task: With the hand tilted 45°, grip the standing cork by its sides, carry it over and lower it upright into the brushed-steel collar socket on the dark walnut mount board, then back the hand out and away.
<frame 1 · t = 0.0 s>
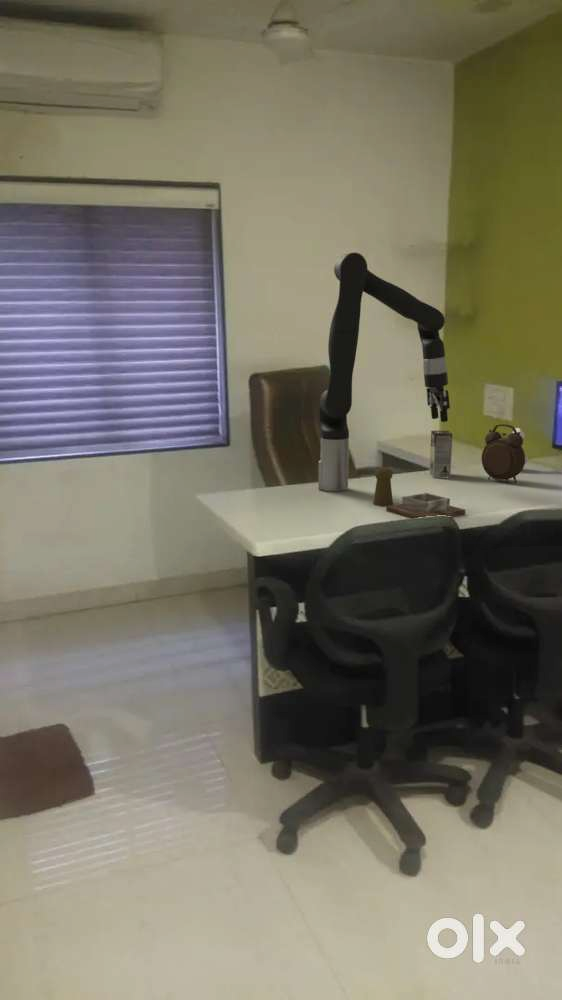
hand: (439, 420, 255), 22 cm above the table, tool pointing down, fingers open, 8 cm apart
coffee box: (439, 476, 277), on the table
voxel character: (514, 471, 287), on the table
alarm clock: (501, 482, 267), on the table
cork: (382, 504, 233), on the table
mount board: (425, 512, 222), on the table
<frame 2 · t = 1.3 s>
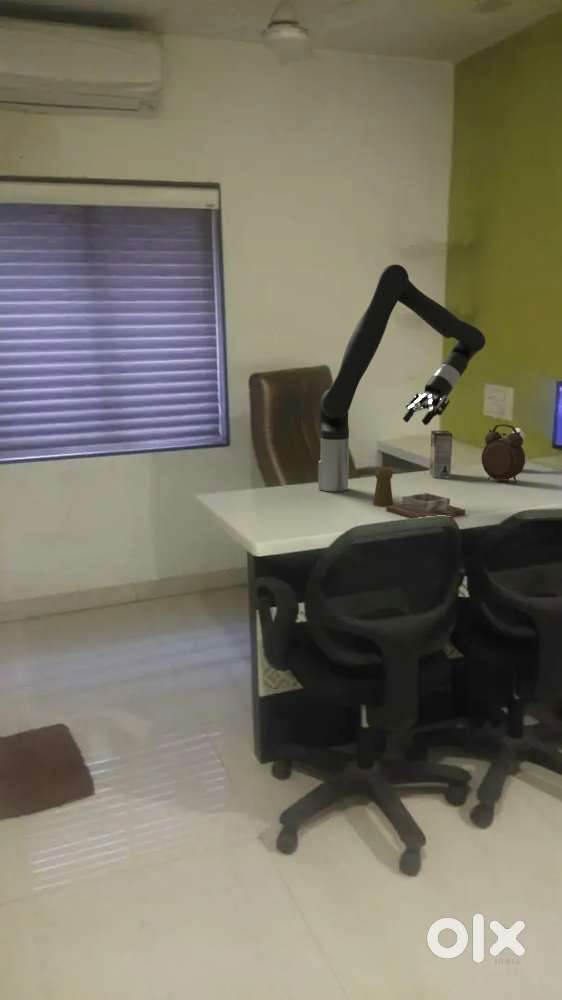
hand: (414, 421, 234), 24 cm above the table, tool tilted 45°, fingers open, 8 cm apart
nothing on the table moved.
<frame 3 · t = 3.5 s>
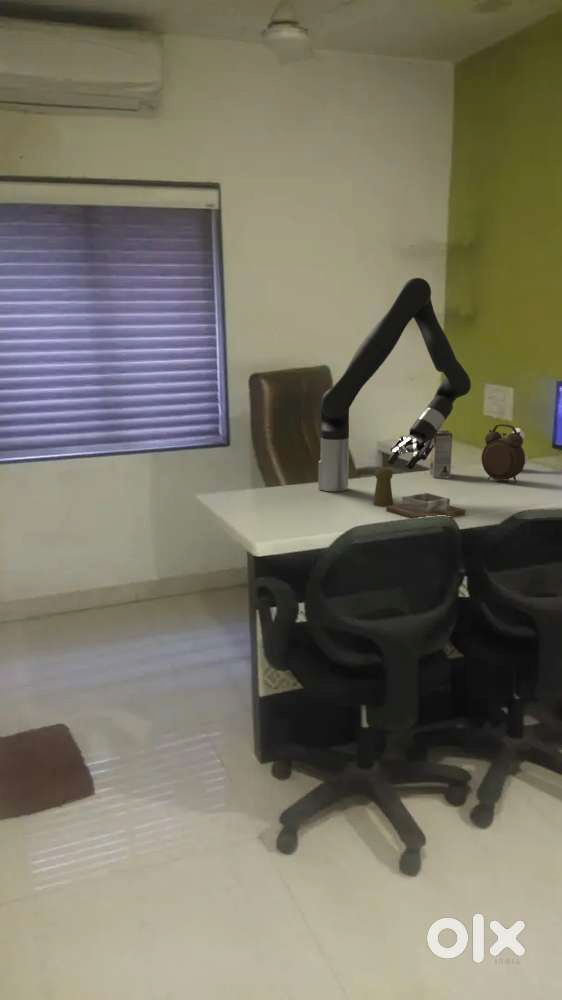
hand: (398, 465, 234), 11 cm above the table, tool tilted 45°, fingers open, 8 cm apart
nothing on the table moved.
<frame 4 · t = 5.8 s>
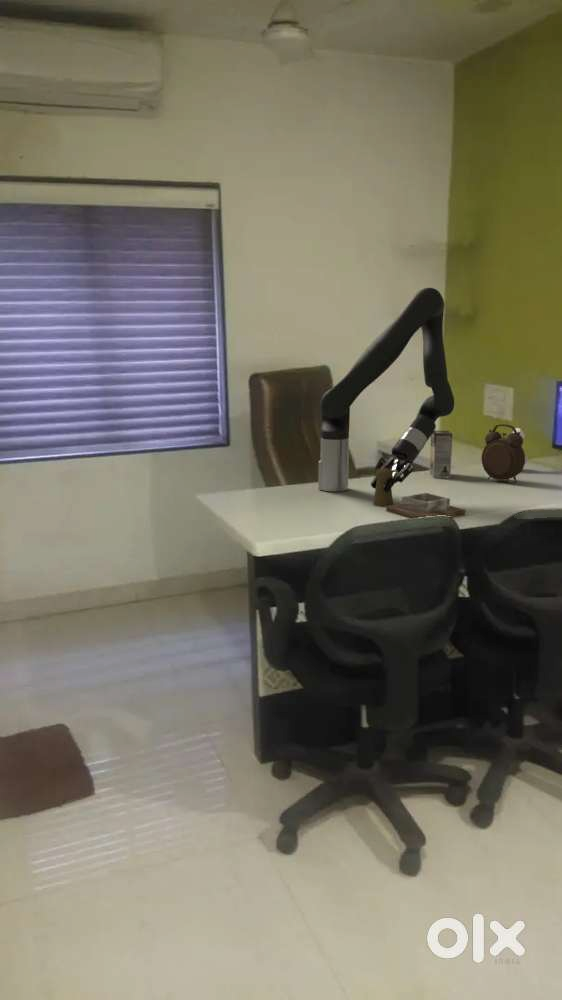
hand: (378, 488, 231), 5 cm above the table, tool tilted 45°, fingers closed on cork, 5 cm apart
cork: (382, 504, 233), on the table, touching gripper
everything else where it was.
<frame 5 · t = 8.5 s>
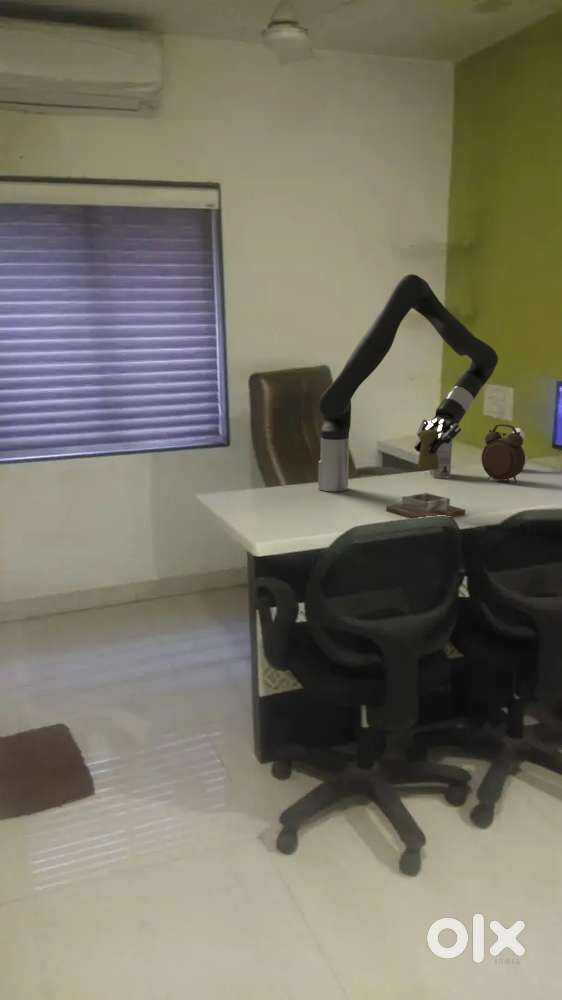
hand: (423, 450, 217), 18 cm above the table, tool tilted 45°, fingers closed on cork, 5 cm apart
cork: (427, 468, 220), point 13 cm above the table, touching gripper
everything else where it was.
when the fingers open (7 cm above the table, at t = 11.5 s): cork stays where it is, resting on mount board.
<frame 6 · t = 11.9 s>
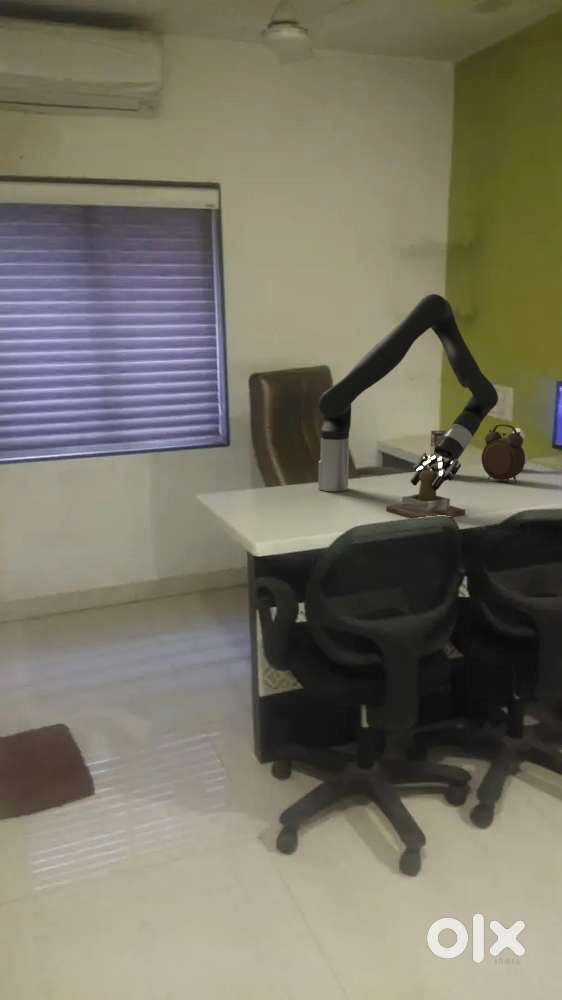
hand: (422, 486, 220), 8 cm above the table, tool tilted 45°, fingers open, 8 cm apart
cork: (426, 508, 222), point 1 cm above the table, touching mount board
everything else where it was.
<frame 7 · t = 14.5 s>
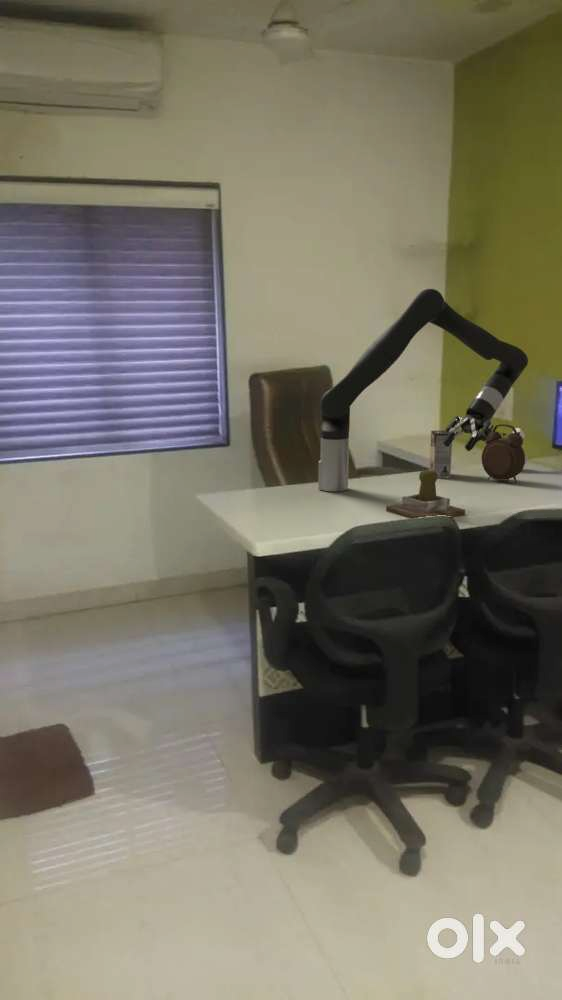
hand: (456, 447, 225), 18 cm above the table, tool tilted 45°, fingers open, 8 cm apart
nothing on the table moved.
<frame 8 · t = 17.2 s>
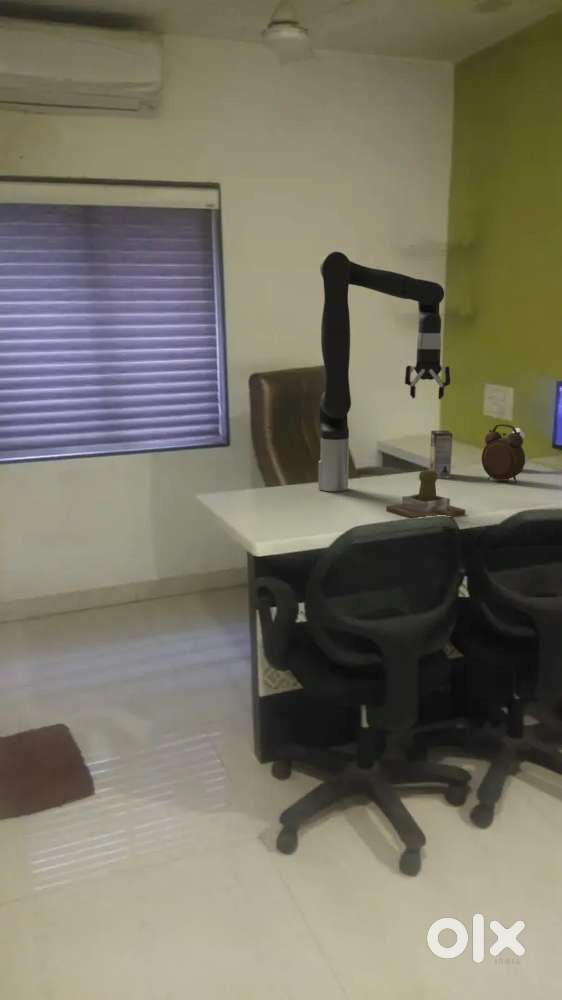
hand: (426, 398, 248), 30 cm above the table, tool pointing down, fingers open, 8 cm apart
nothing on the table moved.
at the end: cork 0.4 cm off-centre on the mount board, point 1.3 cm above the mount board's base; cork tilted 0°; the gripper is holding nothing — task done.
